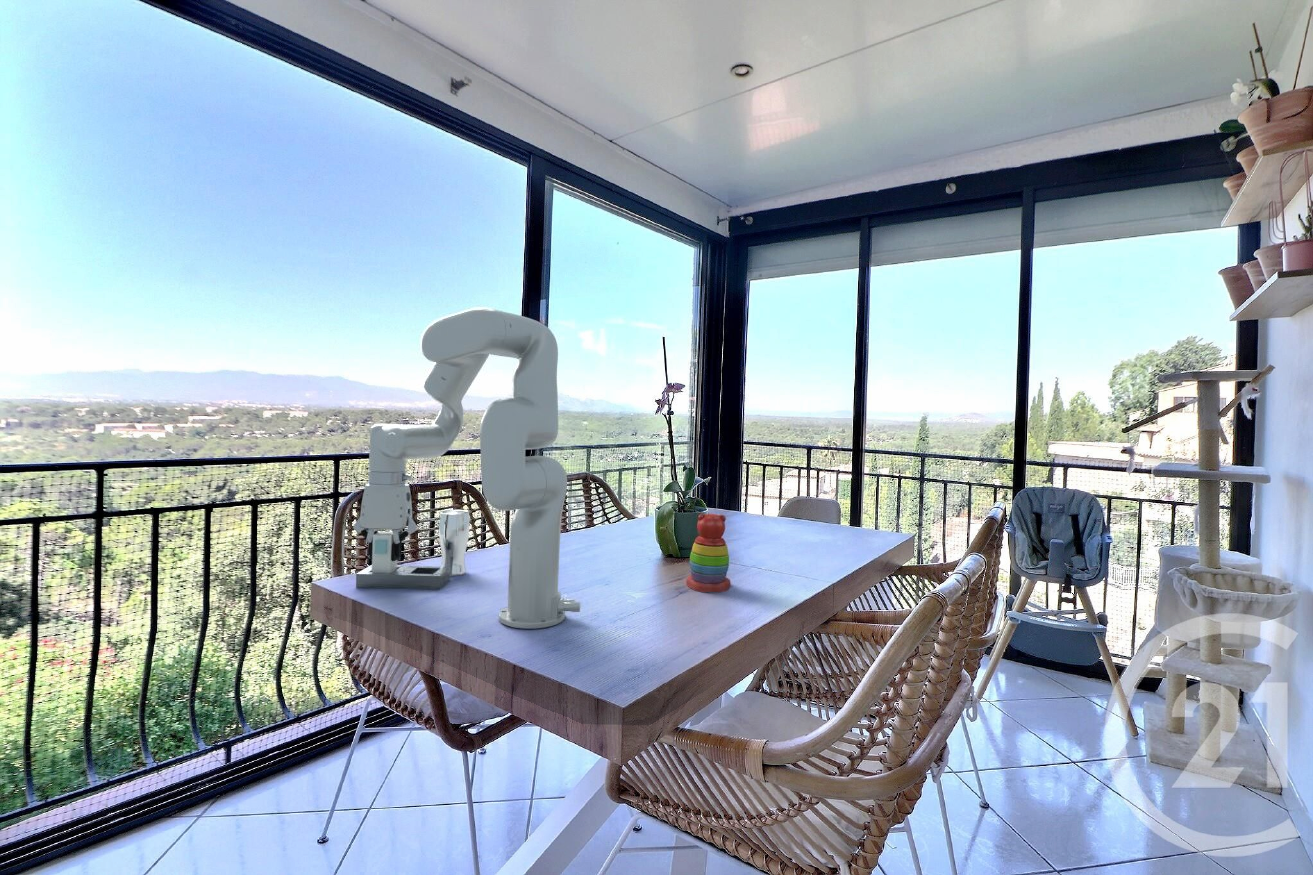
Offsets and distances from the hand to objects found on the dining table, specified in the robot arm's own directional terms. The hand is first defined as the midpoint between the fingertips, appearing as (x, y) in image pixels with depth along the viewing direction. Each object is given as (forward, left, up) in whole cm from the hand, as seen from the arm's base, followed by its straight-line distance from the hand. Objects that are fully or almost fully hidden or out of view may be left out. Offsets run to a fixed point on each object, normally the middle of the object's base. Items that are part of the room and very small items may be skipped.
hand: (384, 558), depth 135 cm
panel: (-5, 0, -5) cm, 7 cm away
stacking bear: (-75, -4, -6) cm, 75 cm away
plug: (0, 0, -4) cm, 4 cm away
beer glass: (-13, -10, -6) cm, 17 cm away
